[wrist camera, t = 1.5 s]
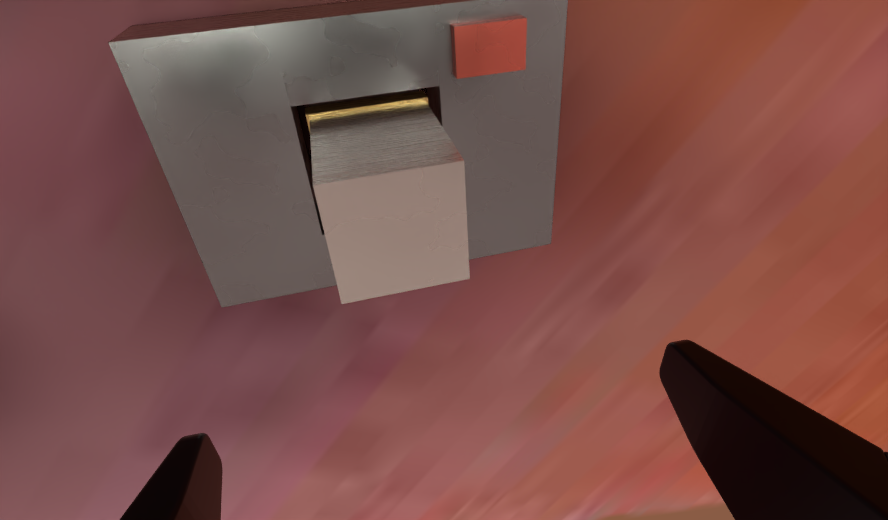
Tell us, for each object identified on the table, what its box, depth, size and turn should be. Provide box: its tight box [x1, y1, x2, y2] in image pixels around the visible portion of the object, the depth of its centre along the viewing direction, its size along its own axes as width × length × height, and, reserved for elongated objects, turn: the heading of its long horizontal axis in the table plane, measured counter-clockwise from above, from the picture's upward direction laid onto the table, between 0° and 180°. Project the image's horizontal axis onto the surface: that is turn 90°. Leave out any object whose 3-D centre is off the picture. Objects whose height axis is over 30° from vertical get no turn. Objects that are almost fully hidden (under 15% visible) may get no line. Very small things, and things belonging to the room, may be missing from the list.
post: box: [305, 89, 470, 304], centre depth 17 cm, size 4×4×7 cm
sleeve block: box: [108, 0, 568, 307], centre depth 19 cm, size 14×10×3 cm
